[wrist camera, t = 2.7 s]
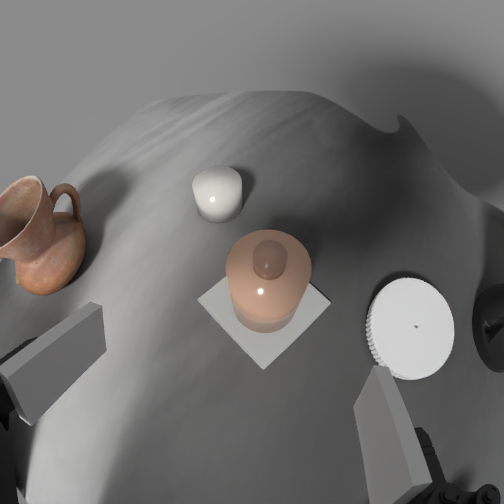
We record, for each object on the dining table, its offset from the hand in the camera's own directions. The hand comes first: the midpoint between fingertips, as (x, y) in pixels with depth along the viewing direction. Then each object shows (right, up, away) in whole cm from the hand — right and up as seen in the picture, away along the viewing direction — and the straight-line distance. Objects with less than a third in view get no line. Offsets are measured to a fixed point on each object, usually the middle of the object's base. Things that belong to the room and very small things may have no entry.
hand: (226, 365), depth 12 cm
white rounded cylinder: (-4, +12, +31) cm, 34 cm away
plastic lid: (+22, -6, +21) cm, 32 cm away
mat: (+3, -1, +23) cm, 24 cm away
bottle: (+3, -1, +23) cm, 23 cm away
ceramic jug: (-30, +4, +27) cm, 40 cm away
